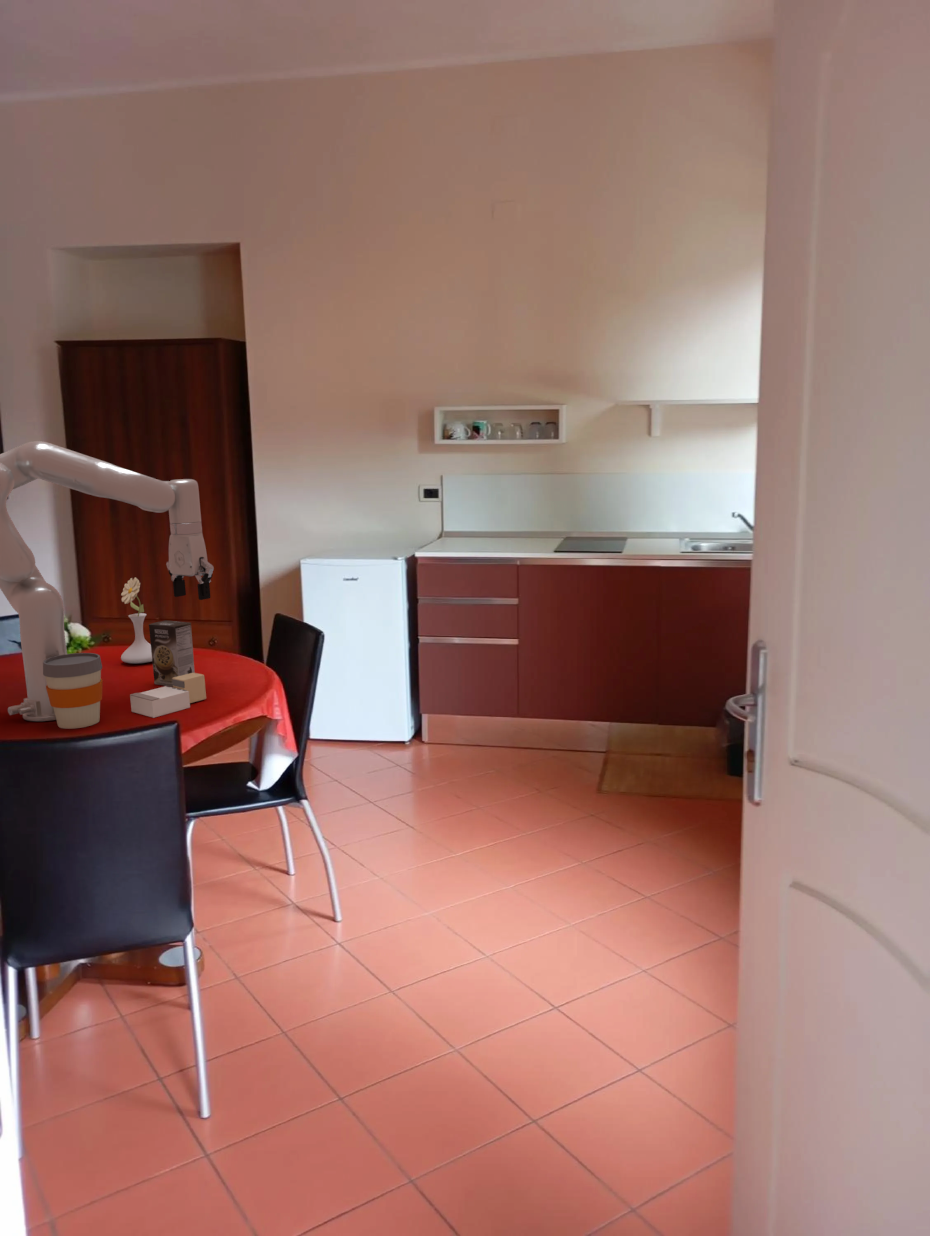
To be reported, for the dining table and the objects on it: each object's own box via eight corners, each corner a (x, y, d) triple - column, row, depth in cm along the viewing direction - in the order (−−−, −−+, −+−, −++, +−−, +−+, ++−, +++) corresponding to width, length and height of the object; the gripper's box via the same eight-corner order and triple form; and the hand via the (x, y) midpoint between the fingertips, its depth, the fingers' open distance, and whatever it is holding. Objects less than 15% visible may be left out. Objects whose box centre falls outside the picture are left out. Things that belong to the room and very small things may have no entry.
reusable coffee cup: (89, 731, 219) (81, 665, 216) (37, 730, 221) (29, 665, 219) (118, 715, 231) (111, 652, 228) (69, 714, 234) (62, 652, 231)
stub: (185, 704, 237) (183, 680, 236) (174, 701, 240) (172, 677, 239) (206, 698, 242) (204, 674, 241) (195, 696, 245) (193, 672, 244)
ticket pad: (153, 717, 228) (151, 700, 227) (131, 711, 234) (129, 694, 233) (190, 707, 236) (188, 690, 235) (168, 701, 241) (166, 685, 241)
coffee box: (153, 684, 259) (147, 624, 256) (171, 678, 264) (165, 619, 261) (179, 687, 255) (173, 626, 252) (196, 681, 260) (191, 621, 257)
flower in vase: (119, 660, 288) (110, 575, 283) (159, 655, 293) (151, 571, 288) (124, 669, 276) (115, 581, 272) (166, 664, 281) (158, 577, 276)
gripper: (152, 529, 248) (158, 597, 251) (196, 532, 237) (202, 602, 240) (177, 526, 253) (183, 592, 257) (221, 529, 243) (226, 597, 246)
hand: (192, 597), depth 249 cm, fingers open, 9 cm apart
